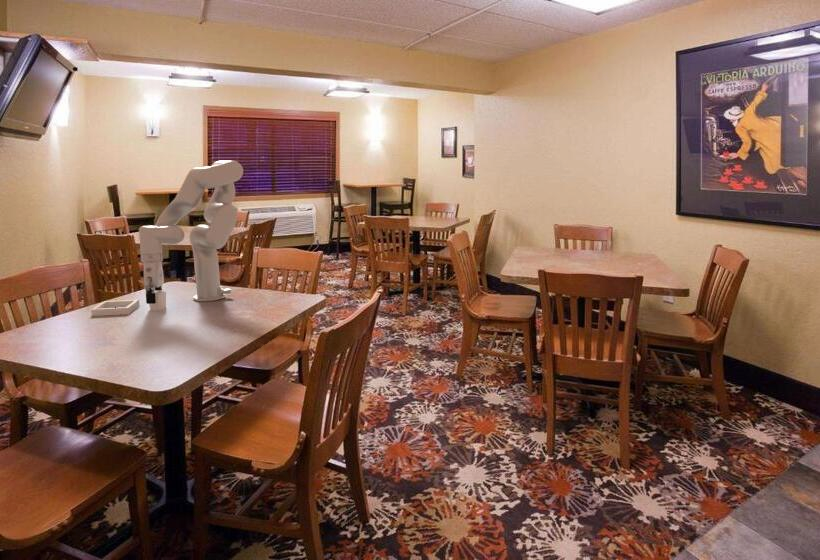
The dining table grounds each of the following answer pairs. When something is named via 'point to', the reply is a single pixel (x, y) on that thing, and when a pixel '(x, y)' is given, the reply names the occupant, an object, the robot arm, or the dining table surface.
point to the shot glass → (159, 300)
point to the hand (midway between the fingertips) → (154, 300)
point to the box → (109, 309)
